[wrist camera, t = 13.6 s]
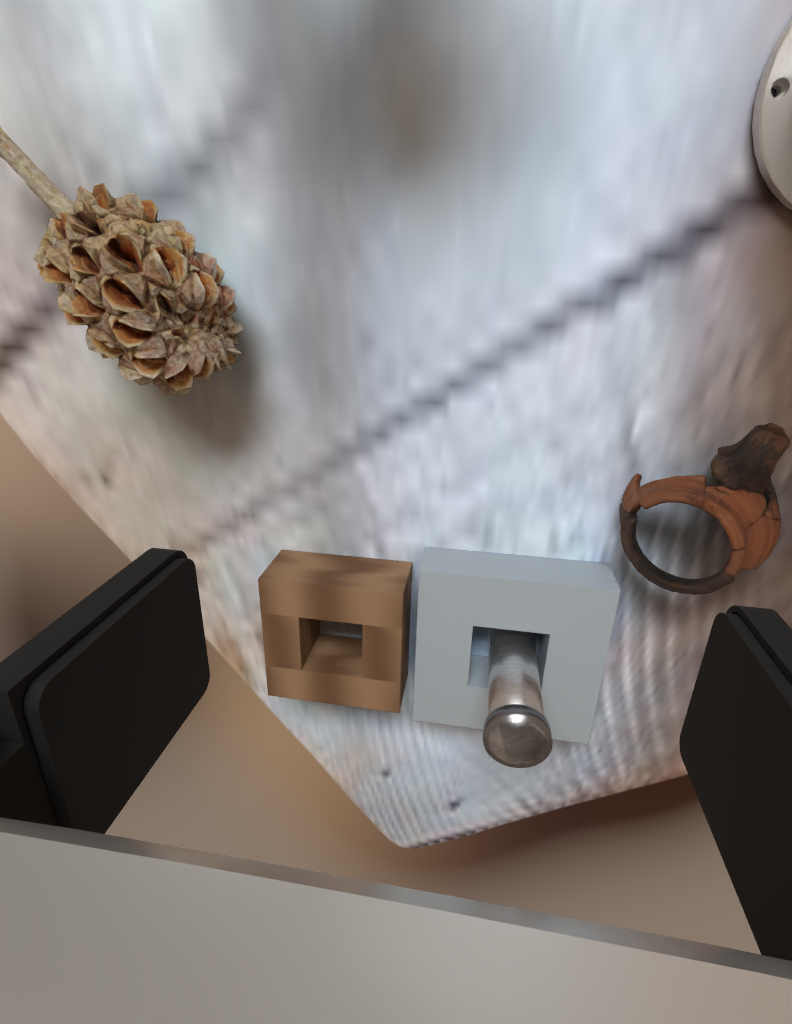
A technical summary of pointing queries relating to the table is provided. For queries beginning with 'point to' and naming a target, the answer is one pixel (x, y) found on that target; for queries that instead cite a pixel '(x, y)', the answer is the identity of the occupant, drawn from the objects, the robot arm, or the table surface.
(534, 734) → the lock pin
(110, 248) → the pine cone
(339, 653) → the mount block
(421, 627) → the socket block
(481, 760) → the table surface
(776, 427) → the cracked clay ring
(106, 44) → the table surface
